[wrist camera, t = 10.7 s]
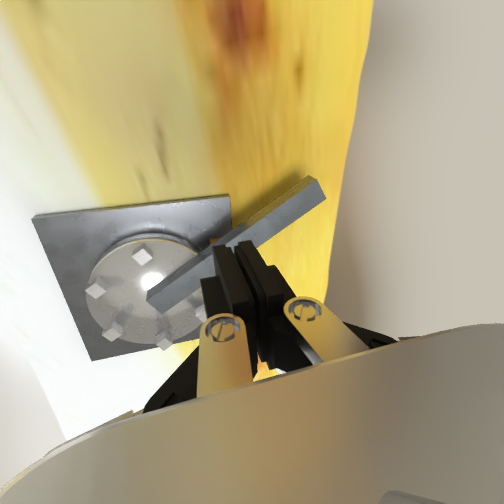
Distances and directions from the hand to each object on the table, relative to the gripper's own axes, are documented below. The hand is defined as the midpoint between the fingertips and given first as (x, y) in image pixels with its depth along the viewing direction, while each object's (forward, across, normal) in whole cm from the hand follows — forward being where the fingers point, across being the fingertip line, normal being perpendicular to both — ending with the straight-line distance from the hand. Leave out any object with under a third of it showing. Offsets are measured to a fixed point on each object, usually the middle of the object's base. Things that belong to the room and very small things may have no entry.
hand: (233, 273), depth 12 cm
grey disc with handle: (+20, 0, +10) cm, 22 cm away
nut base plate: (+22, +6, +13) cm, 26 cm away
